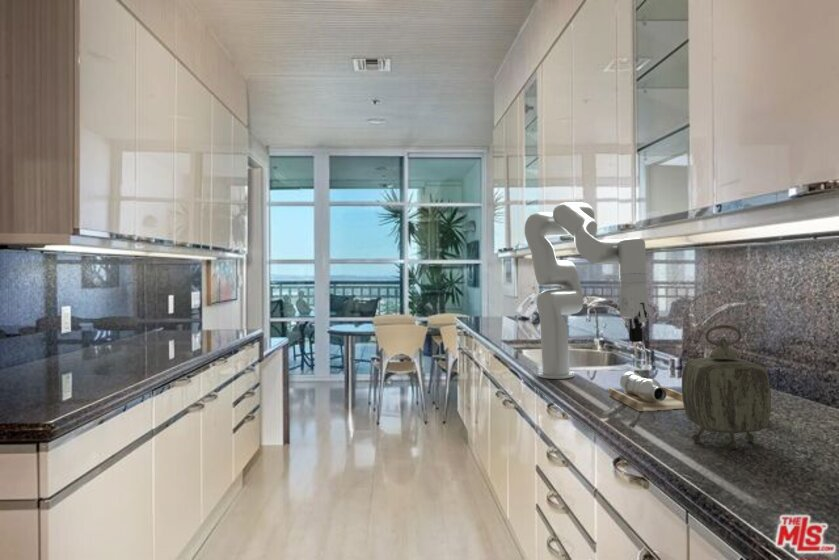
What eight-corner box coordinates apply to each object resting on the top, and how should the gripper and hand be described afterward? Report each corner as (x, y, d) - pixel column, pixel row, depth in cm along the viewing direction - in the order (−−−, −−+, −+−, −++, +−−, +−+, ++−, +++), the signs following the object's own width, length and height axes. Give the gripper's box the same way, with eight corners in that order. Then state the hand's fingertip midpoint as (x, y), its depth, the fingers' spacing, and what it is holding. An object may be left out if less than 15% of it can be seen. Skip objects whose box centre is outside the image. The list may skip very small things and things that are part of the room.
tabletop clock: (754, 438, 114) (749, 322, 114) (778, 452, 105) (772, 326, 105) (684, 439, 115) (678, 324, 115) (701, 453, 106) (695, 328, 106)
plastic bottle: (638, 371, 162) (672, 382, 142) (637, 393, 162) (671, 407, 142) (618, 369, 162) (649, 380, 142) (616, 391, 162) (647, 406, 142)
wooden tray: (609, 395, 160) (609, 388, 160) (661, 392, 160) (661, 385, 160) (639, 411, 140) (639, 403, 140) (699, 408, 140) (698, 400, 140)
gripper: (610, 280, 165) (613, 339, 165) (631, 280, 150) (634, 345, 150) (634, 279, 166) (637, 338, 166) (657, 279, 151) (660, 343, 151)
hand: (636, 341), depth 158 cm, fingers closed
